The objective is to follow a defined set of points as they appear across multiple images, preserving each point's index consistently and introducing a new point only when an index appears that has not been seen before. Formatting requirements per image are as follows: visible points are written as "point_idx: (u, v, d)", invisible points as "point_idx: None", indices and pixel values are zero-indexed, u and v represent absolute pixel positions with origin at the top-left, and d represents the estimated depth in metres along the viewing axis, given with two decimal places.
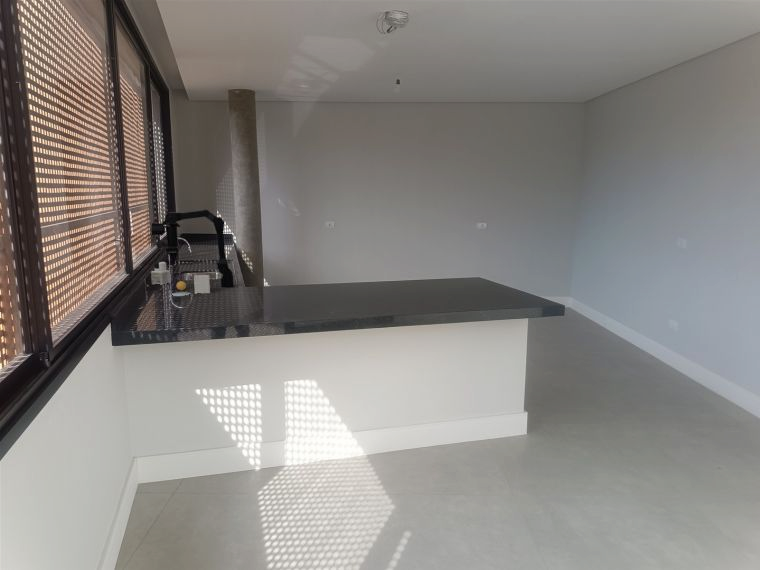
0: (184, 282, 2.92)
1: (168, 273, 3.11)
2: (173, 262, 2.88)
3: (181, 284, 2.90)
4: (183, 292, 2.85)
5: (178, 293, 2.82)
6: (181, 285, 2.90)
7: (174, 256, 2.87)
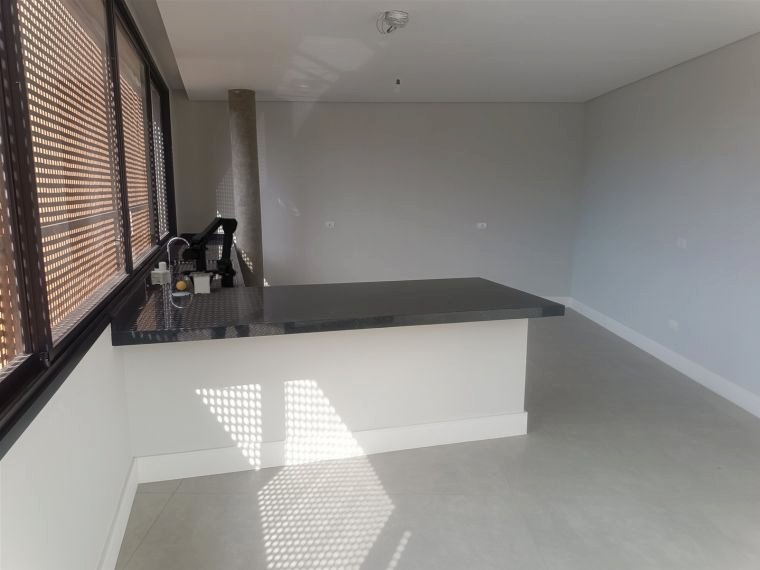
0: (184, 282, 2.92)
1: (168, 273, 3.11)
2: (193, 286, 2.85)
3: (181, 284, 2.90)
4: (183, 292, 2.85)
5: (178, 293, 2.82)
6: (181, 285, 2.90)
7: None
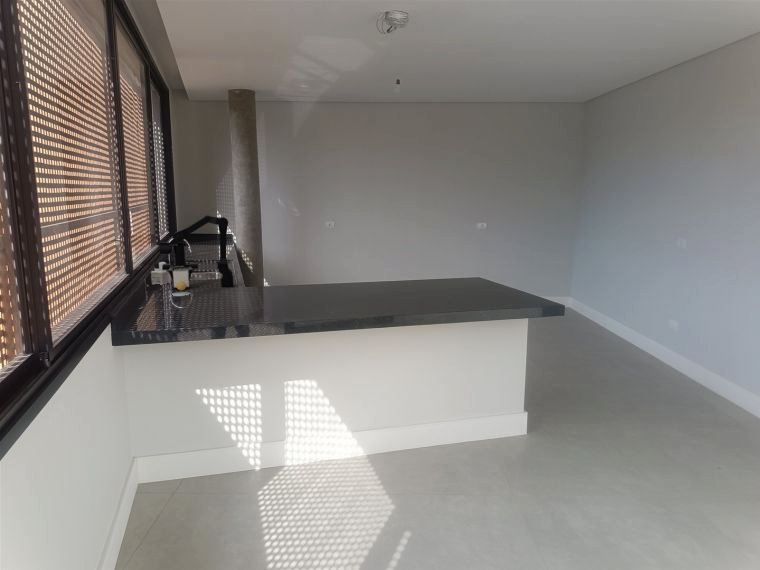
0: None
1: (168, 273, 3.11)
2: None
3: (181, 285, 2.89)
4: (183, 292, 2.85)
5: (178, 293, 2.82)
6: (181, 286, 2.89)
7: None
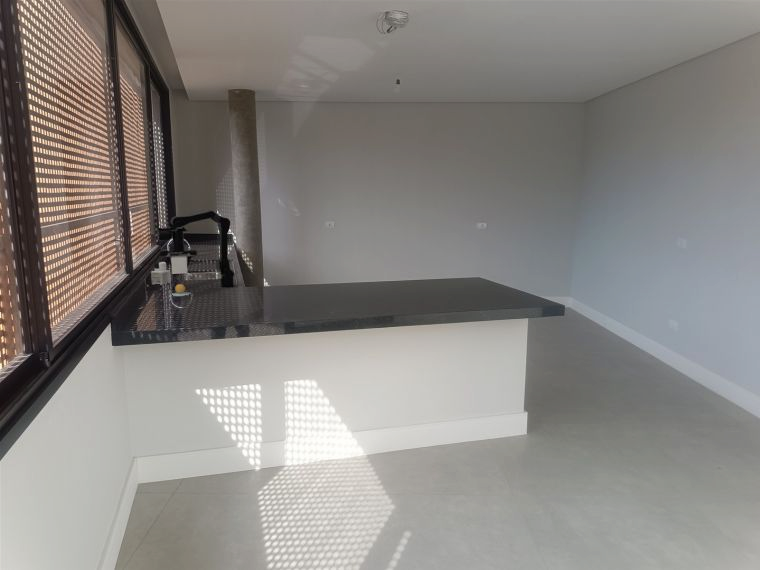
0: (183, 290, 2.85)
1: (168, 273, 3.11)
2: None
3: None
4: (183, 292, 2.85)
5: (178, 293, 2.82)
6: None
7: None
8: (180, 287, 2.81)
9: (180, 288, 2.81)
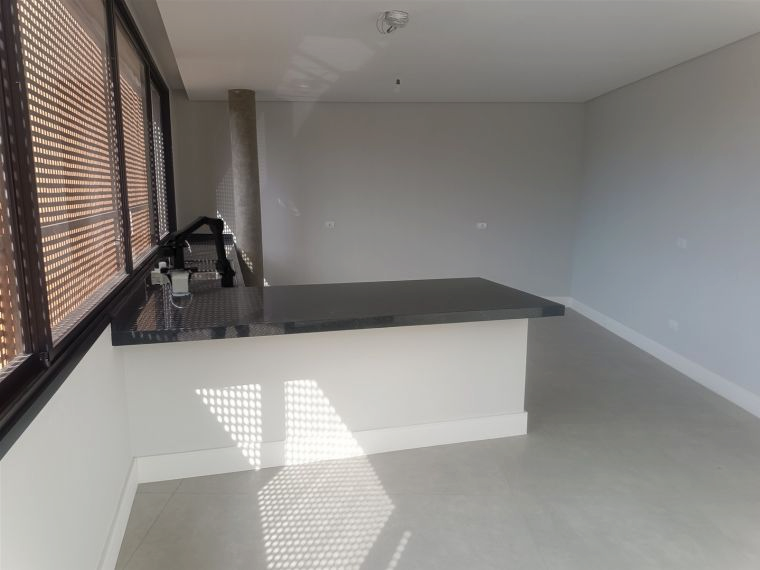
0: None
1: None
2: (171, 284, 2.79)
3: None
4: (183, 292, 2.85)
5: (178, 293, 2.82)
6: None
7: None
8: None
9: None
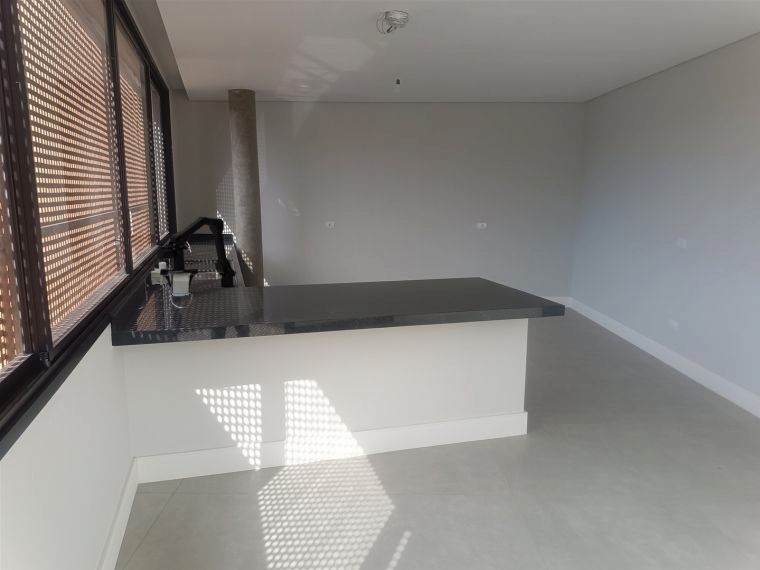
0: None
1: None
2: None
3: None
4: None
5: None
6: None
7: None
8: None
9: None
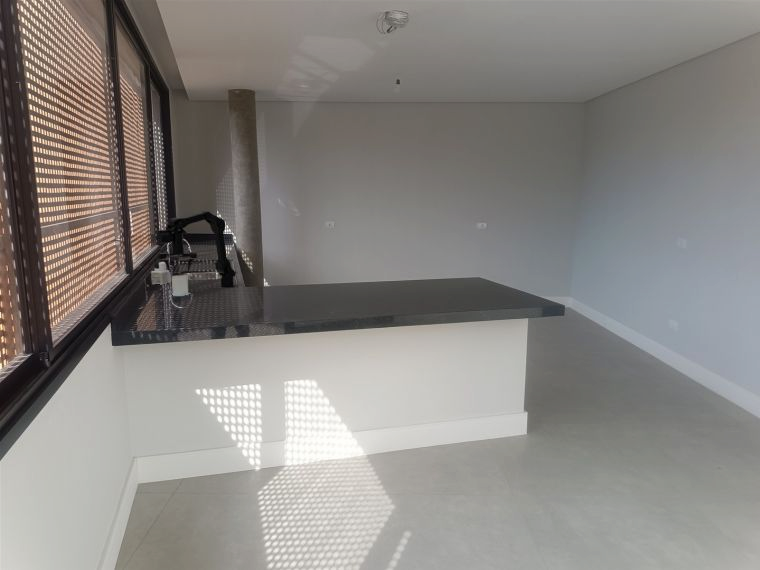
0: None
1: (168, 273, 3.11)
2: None
3: None
4: None
5: None
6: None
7: None
8: None
9: None
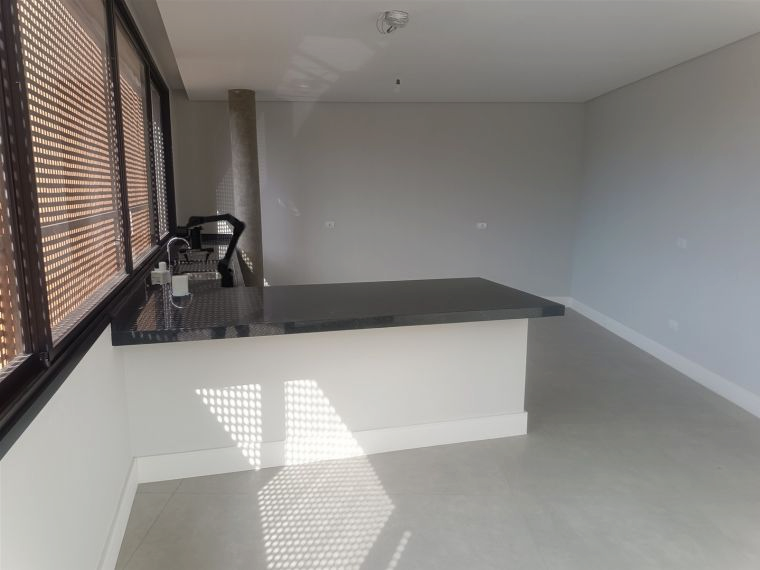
0: None
1: (168, 273, 3.11)
2: None
3: None
4: None
5: None
6: None
7: None
8: None
9: None
